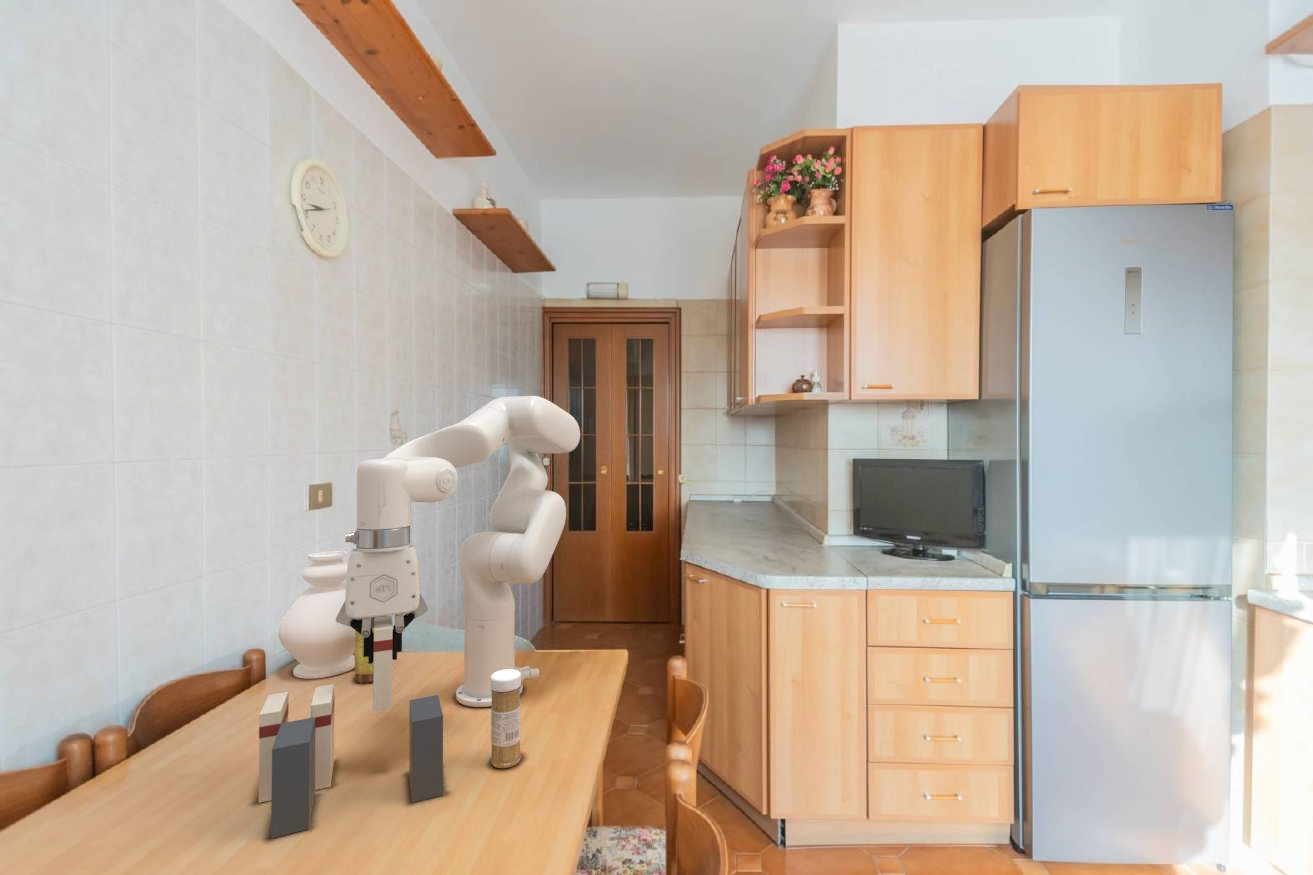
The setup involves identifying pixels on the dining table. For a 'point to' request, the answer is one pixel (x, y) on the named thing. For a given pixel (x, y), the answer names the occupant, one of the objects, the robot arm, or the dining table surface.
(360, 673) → the sauce bottle
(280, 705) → the ivory book
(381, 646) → the ivory book
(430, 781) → the grey book
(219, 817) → the dining table surface
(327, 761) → the ivory book
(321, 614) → the decorative vase
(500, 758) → the sprinkles bottle
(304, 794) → the grey book
